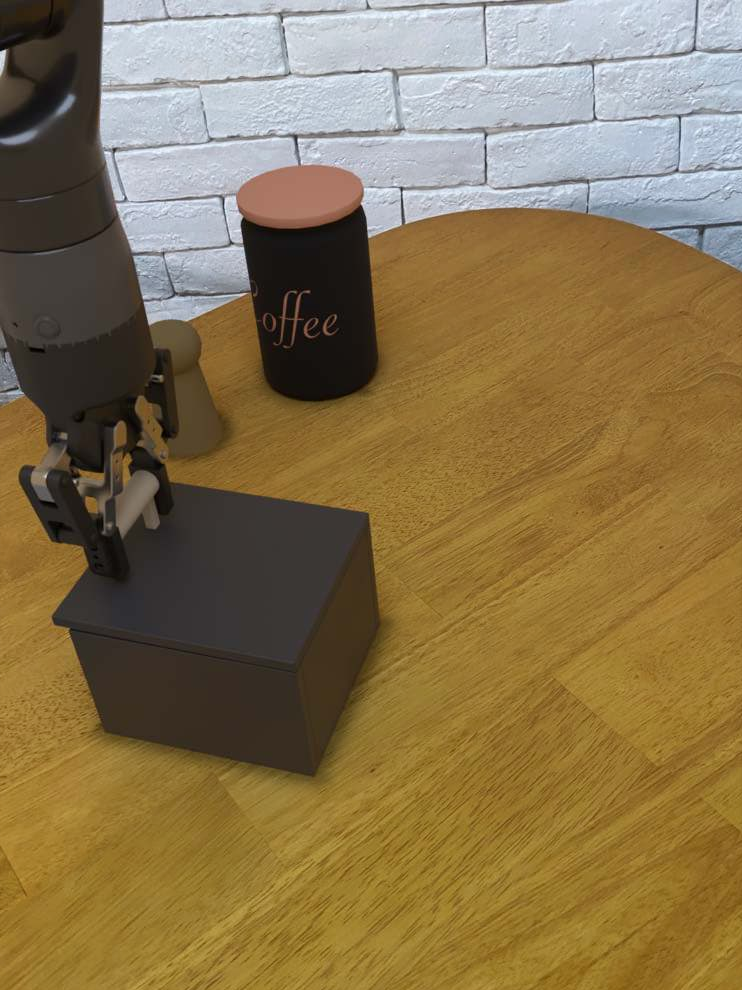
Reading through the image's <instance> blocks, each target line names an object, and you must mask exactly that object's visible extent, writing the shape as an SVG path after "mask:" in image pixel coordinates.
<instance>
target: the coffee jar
mask: <svg viewBox="0 0 742 990" xmlns="http://www.w3.org/2000/svg"><path fill="white" fill-rule="evenodd" d="M364 197H365V188H364V185H363V183H362V179H361V178H360V177H359V176H357V175H356V174H355V173H354V172H352V171H349V170H346V169H344V168H341V167H338V166H331V165H326V164H325V165H324V164H300V165H292V166H284V167H283V166H282V167H280V168H276V169H271V170H268V171H265V172H263V173H260V174H258V175H256V176H253V177H251V178H250V179H249V180H247V181H246V182H245V183H243V184H242V185H241V186H240V187H239V189H238V190H237V192H236V194H235V199H236V205H237V210H238V213H239V214H240V215H241V216H242V218H241V220H240V224H239V225H240V232H241V238H242V244H243V251H244V257H245V263H246V269H247V270H246V271H247V276H248V282H249V288H250V294H251V300H252V306H253V312H254V313H253V314H254V318H255V325H256V331H257V337H258V343H259V350H260V357H261V361H262V367H263V373H264V378H265V379H266V380H267V382H268V383H269V384H270V385H271V386H272V388H274V389H275V390H276V391H278V392H279V393H281V394H283V395H284V396H287V397H288V398H291V399H297V400H299V401H308V402H310V401H311V402H312V401H313V402H321V401H329V400H335V399H339V398H342V397H345V396H349V395H352V393H354V392H356V391H358V390H359V389H361V388H363V387H364V386H365V385H366V384H367V383H368V381H369V380H371V378H372V377H373V376H374V375H375V373H376V369H377V366H378V362H379V354H378V353H379V350H378V339H377V328H376V327H377V326H376V317H375V316H376V315H375V305H374V302H375V301H374V291H373V282H372V281H373V279H372V269H371V268H372V267H371V256H370V254H371V253H370V243H369V232H368V221H367V220H368V217H367V215H366V212H365V210H364V209H365V208H364V207H363V205H362V202H363V199H364Z"/></svg>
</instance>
